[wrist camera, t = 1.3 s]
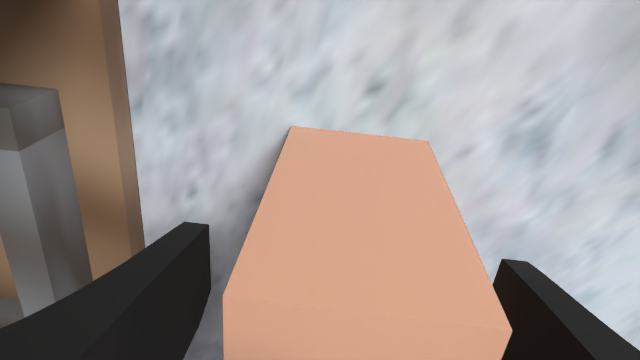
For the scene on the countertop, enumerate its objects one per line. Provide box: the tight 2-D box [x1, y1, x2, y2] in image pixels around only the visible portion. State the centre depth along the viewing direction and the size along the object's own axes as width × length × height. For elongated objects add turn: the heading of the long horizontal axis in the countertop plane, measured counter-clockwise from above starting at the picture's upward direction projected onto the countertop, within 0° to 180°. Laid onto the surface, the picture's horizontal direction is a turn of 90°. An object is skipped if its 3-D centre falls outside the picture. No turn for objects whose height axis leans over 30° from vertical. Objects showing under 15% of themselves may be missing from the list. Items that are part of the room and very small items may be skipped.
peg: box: [223, 126, 512, 360], centre depth 11 cm, size 4×4×8 cm
